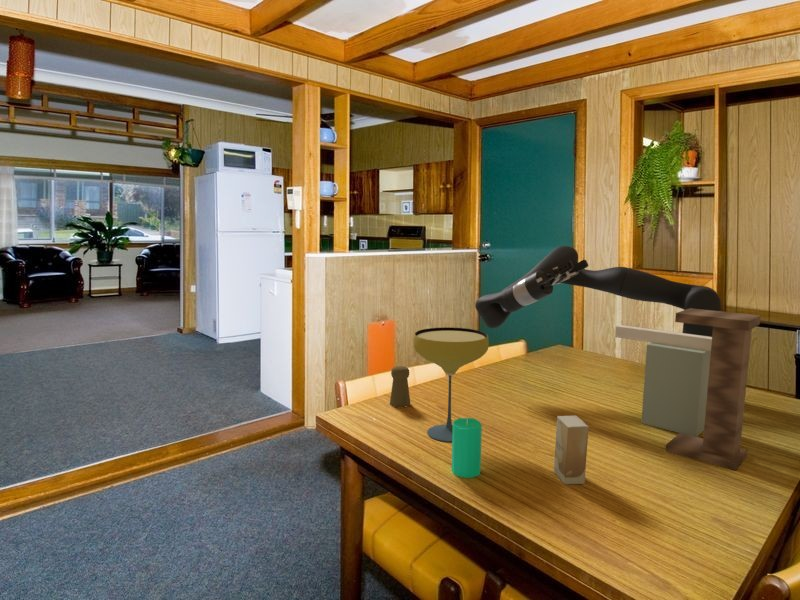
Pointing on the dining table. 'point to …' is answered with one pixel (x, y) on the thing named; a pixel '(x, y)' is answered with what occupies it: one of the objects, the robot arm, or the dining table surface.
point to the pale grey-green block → (675, 388)
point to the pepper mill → (400, 387)
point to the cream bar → (664, 337)
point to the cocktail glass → (449, 359)
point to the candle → (466, 447)
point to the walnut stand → (721, 389)
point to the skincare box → (571, 449)
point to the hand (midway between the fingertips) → (579, 263)
